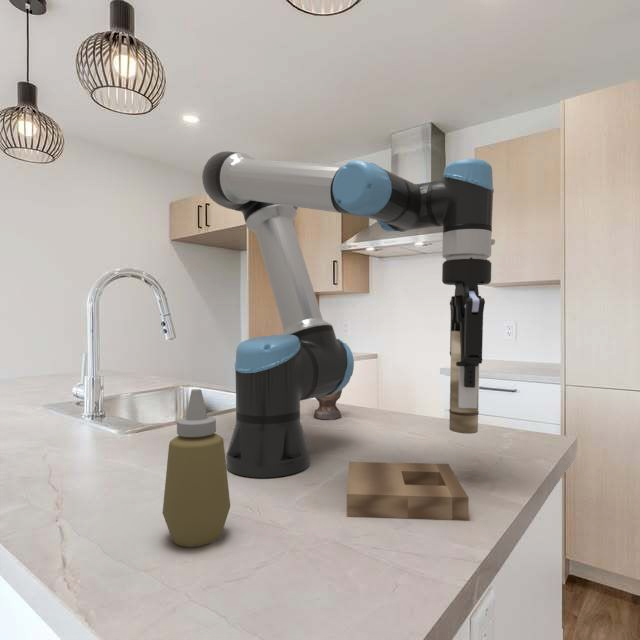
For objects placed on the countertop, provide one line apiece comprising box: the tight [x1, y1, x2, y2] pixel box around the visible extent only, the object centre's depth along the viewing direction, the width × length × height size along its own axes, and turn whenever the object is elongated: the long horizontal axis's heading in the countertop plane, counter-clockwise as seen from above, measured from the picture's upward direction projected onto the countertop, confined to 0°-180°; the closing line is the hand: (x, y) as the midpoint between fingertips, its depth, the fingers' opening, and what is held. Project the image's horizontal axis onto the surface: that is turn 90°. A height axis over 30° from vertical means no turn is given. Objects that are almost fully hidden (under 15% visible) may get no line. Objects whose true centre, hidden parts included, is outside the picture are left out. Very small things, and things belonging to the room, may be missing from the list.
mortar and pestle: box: [313, 389, 343, 421], centre depth 125 cm, size 12×9×20 cm
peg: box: [448, 331, 480, 435], centre depth 74 cm, size 4×4×16 cm
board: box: [346, 461, 470, 521], centre depth 68 cm, size 16×14×3 cm
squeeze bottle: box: [162, 388, 231, 548], centre depth 56 cm, size 8×8×18 cm
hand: (463, 404), depth 74 cm, fingers closed on peg, 4 cm apart
